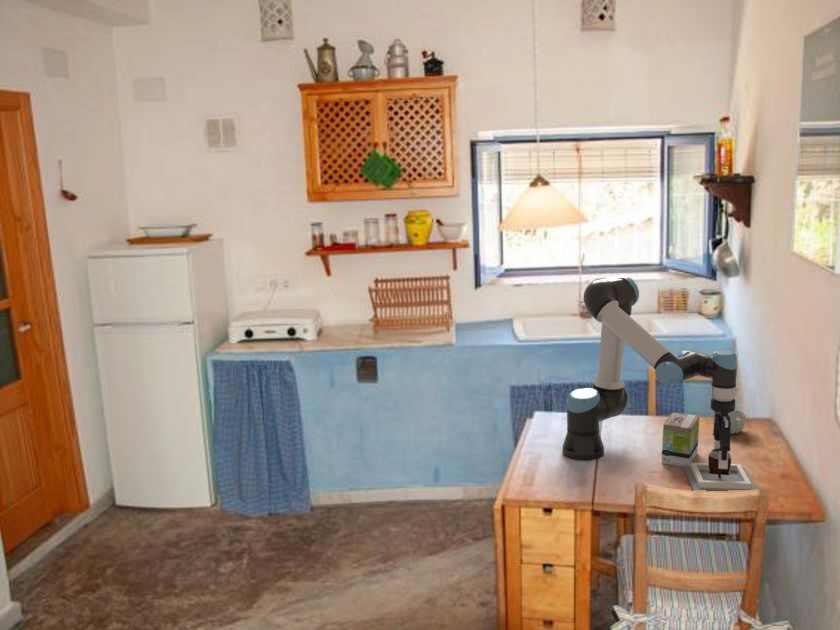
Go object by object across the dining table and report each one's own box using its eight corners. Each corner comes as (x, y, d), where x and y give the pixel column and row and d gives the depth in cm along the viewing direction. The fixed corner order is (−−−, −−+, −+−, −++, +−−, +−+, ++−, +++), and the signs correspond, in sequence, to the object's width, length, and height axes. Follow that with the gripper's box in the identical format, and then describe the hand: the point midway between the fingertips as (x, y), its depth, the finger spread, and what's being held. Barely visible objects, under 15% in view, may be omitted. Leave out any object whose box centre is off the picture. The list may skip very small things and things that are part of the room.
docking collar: (693, 493, 254) (694, 484, 254) (683, 468, 274) (684, 460, 273) (759, 495, 251) (759, 486, 250) (744, 469, 270) (744, 461, 270)
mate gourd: (708, 477, 260) (710, 434, 256) (707, 467, 267) (708, 426, 264) (732, 479, 258) (734, 436, 254) (730, 469, 265) (732, 427, 262)
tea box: (690, 468, 274) (691, 428, 270) (660, 463, 278) (661, 424, 275) (698, 453, 286) (699, 414, 283) (670, 449, 291) (671, 411, 288)
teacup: (712, 426, 312) (713, 407, 310) (740, 426, 310) (741, 407, 309) (720, 439, 299) (721, 419, 297) (750, 439, 297) (751, 419, 295)
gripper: (742, 408, 246) (739, 476, 251) (728, 388, 265) (726, 452, 270) (717, 407, 247) (714, 475, 252) (705, 388, 267) (703, 452, 271)
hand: (720, 463), depth 261 cm, fingers closed on mate gourd, 7 cm apart
